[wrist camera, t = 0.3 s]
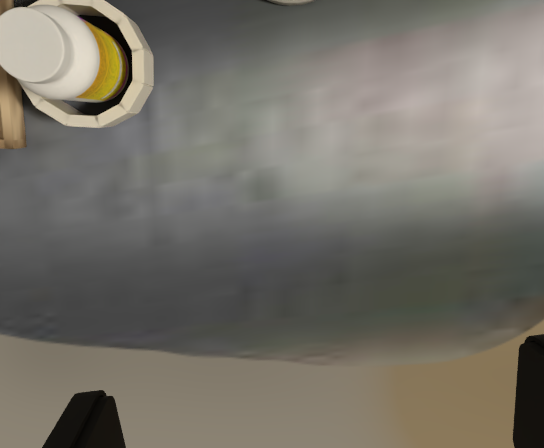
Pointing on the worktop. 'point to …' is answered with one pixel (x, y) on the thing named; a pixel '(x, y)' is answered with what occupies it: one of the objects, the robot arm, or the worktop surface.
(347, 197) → the worktop surface
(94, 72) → the supplement bottle
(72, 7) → the holder
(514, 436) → the robot arm
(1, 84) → the tray
